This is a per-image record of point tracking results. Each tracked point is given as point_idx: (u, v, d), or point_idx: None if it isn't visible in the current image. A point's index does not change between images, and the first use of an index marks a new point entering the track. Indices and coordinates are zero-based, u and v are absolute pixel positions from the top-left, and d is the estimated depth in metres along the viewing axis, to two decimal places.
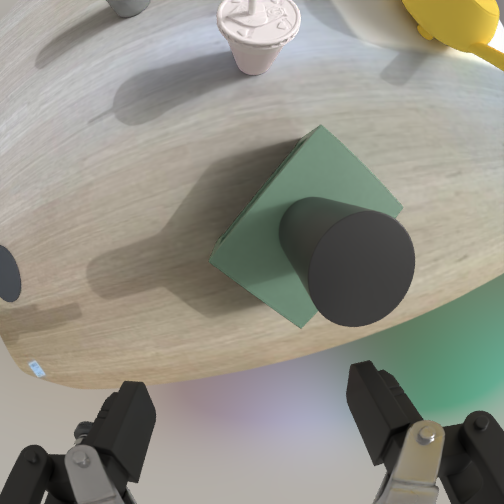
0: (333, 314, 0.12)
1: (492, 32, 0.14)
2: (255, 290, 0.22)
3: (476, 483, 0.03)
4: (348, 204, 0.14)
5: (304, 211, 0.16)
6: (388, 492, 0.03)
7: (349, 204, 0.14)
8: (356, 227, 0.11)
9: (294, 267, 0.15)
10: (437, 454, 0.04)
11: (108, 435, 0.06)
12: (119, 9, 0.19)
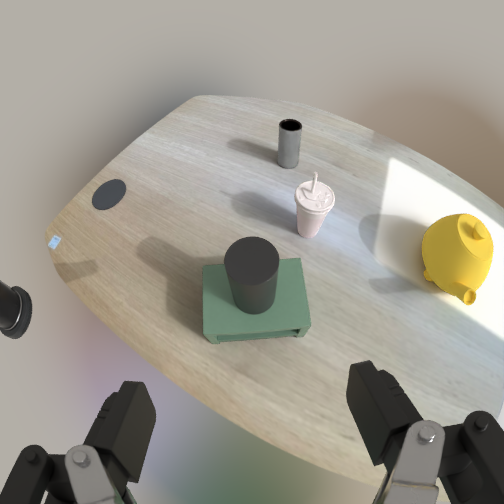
0: (227, 262, 0.28)
1: (474, 275, 0.34)
2: (205, 294, 0.37)
3: (476, 483, 0.03)
4: None
5: None
6: (387, 492, 0.03)
7: None
8: (261, 243, 0.29)
9: None
10: (437, 454, 0.04)
11: (108, 435, 0.06)
12: (279, 157, 0.57)
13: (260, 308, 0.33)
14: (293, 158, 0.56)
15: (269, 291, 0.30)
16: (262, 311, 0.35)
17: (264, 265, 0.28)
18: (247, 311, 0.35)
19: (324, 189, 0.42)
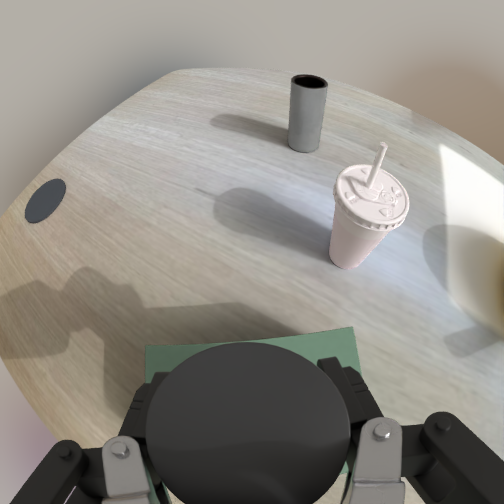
0: (156, 443, 0.06)
1: None
2: None
3: (448, 480, 0.04)
4: None
5: None
6: (350, 493, 0.04)
7: None
8: (282, 370, 0.07)
9: None
10: (390, 453, 0.05)
11: None
12: (291, 134, 0.35)
13: None
14: (313, 136, 0.34)
15: None
16: None
17: (295, 460, 0.06)
18: None
19: (387, 181, 0.20)
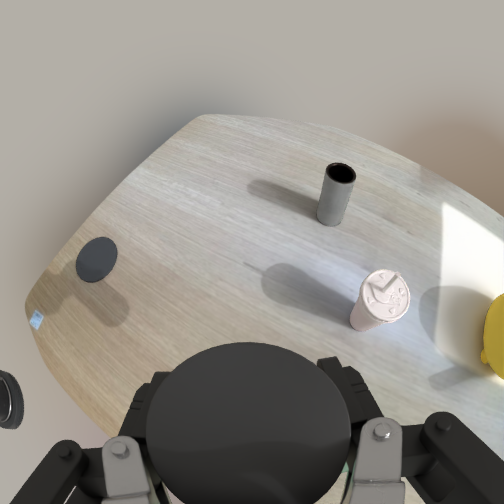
0: (157, 444, 0.06)
1: None
2: None
3: (448, 480, 0.04)
4: None
5: None
6: (351, 493, 0.04)
7: None
8: (283, 370, 0.07)
9: None
10: (391, 453, 0.05)
11: None
12: (321, 212, 0.43)
13: None
14: (339, 215, 0.42)
15: None
16: None
17: (296, 461, 0.06)
18: None
19: (397, 283, 0.29)
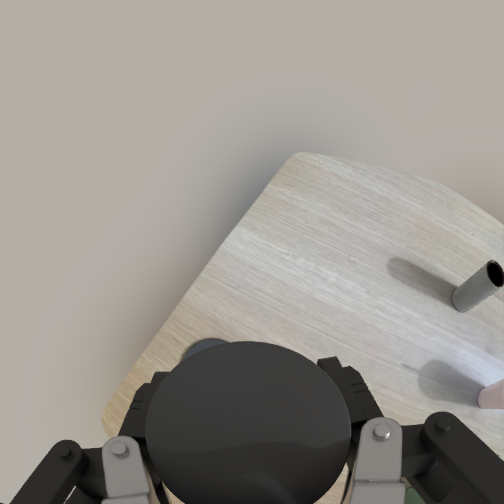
0: (156, 443, 0.06)
1: None
2: None
3: (448, 480, 0.04)
4: None
5: None
6: (350, 493, 0.04)
7: None
8: (283, 370, 0.07)
9: None
10: (391, 453, 0.05)
11: None
12: (462, 302, 0.34)
13: None
14: (476, 304, 0.33)
15: None
16: None
17: (296, 460, 0.05)
18: None
19: None
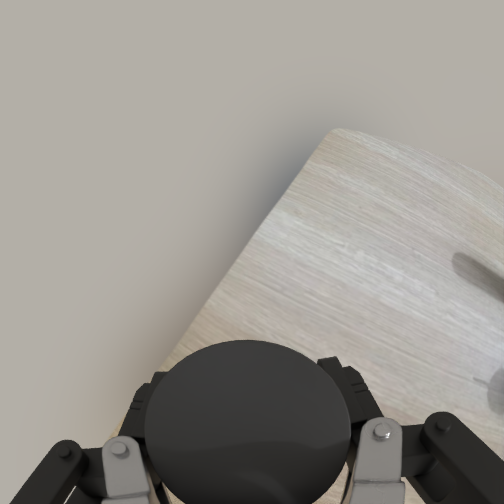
0: (156, 442, 0.06)
1: None
2: None
3: (448, 480, 0.04)
4: None
5: None
6: (350, 493, 0.04)
7: None
8: (282, 368, 0.07)
9: None
10: (391, 453, 0.05)
11: None
12: None
13: None
14: None
15: None
16: None
17: (295, 459, 0.05)
18: None
19: None
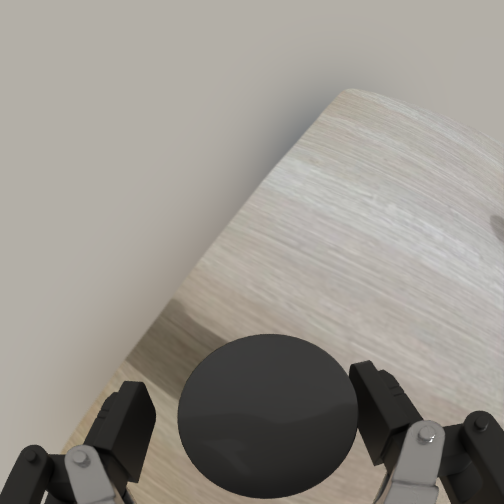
0: (188, 427, 0.07)
1: None
2: None
3: (476, 483, 0.03)
4: None
5: None
6: (387, 492, 0.03)
7: None
8: (300, 358, 0.08)
9: None
10: (437, 454, 0.04)
11: (108, 435, 0.06)
12: None
13: None
14: None
15: None
16: None
17: (311, 438, 0.07)
18: None
19: None
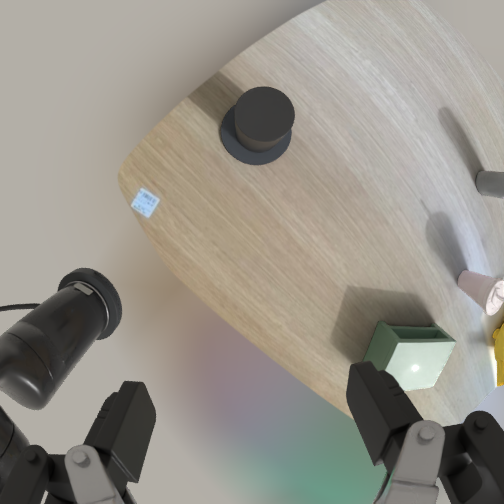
0: (238, 109, 0.23)
1: None
2: (388, 367, 0.35)
3: (476, 483, 0.03)
4: None
5: None
6: (387, 492, 0.03)
7: None
8: (280, 97, 0.23)
9: None
10: (437, 454, 0.04)
11: (108, 435, 0.06)
12: (484, 184, 0.33)
13: (261, 150, 0.31)
14: (493, 196, 0.33)
15: (274, 143, 0.27)
16: (261, 151, 0.33)
17: (276, 123, 0.23)
18: (246, 148, 0.32)
19: (503, 292, 0.31)
